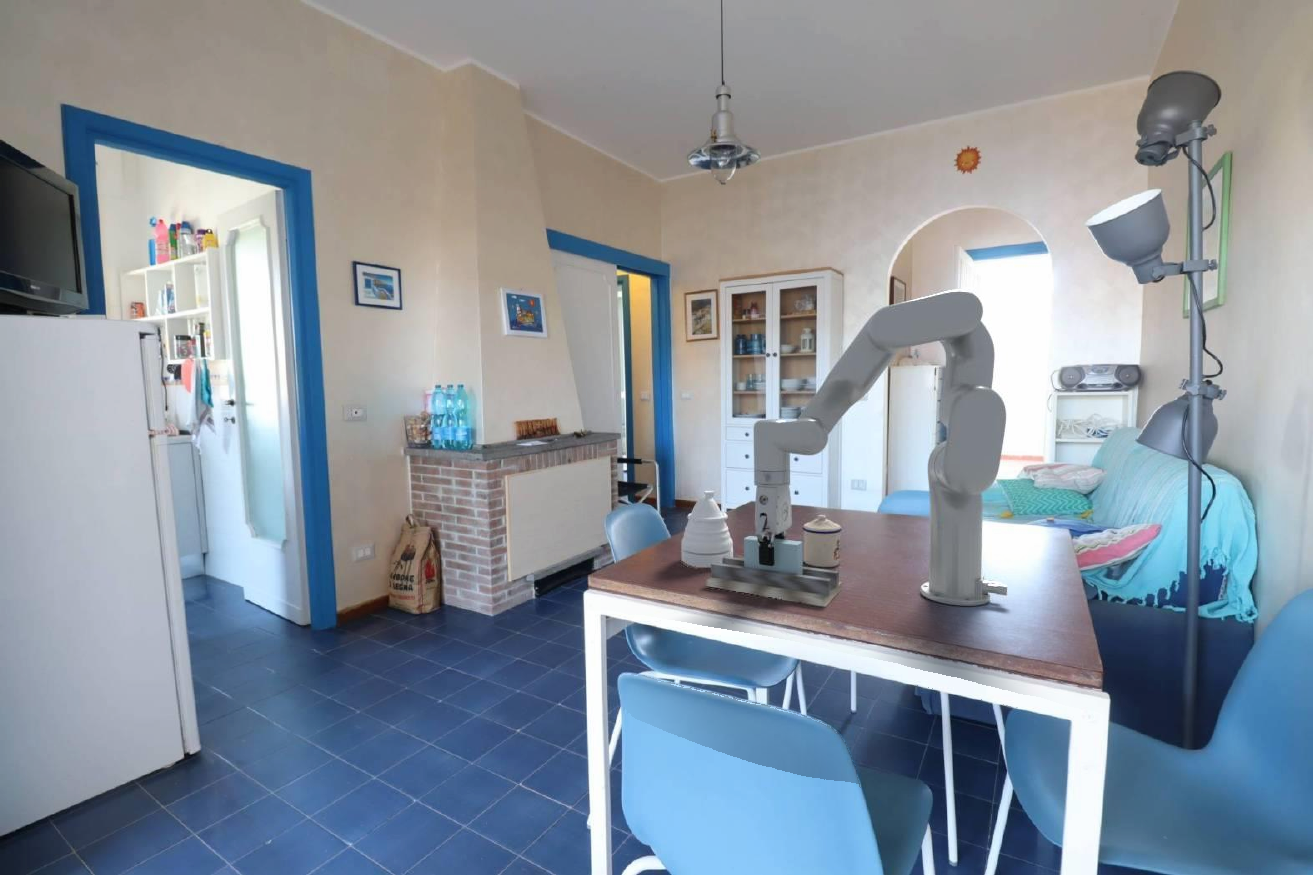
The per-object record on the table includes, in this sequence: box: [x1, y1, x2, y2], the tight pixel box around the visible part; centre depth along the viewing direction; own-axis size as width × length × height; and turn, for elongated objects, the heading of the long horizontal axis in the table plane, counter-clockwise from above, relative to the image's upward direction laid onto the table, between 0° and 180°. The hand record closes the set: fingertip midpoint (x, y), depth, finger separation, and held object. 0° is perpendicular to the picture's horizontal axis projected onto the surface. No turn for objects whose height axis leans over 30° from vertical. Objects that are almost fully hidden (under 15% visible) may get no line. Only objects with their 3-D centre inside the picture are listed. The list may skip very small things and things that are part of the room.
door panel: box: [743, 535, 804, 575], centre depth 132 cm, size 12×3×9 cm, turn 58°
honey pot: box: [680, 490, 734, 567], centre depth 154 cm, size 13×13×18 cm
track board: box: [705, 556, 843, 608], centre depth 132 cm, size 26×12×4 cm, turn 58°
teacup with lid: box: [802, 514, 842, 568], centre depth 152 cm, size 12×9×12 cm
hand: (772, 560), depth 132 cm, fingers open, 6 cm apart
